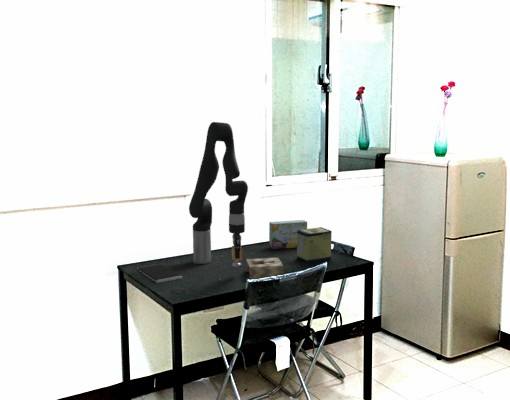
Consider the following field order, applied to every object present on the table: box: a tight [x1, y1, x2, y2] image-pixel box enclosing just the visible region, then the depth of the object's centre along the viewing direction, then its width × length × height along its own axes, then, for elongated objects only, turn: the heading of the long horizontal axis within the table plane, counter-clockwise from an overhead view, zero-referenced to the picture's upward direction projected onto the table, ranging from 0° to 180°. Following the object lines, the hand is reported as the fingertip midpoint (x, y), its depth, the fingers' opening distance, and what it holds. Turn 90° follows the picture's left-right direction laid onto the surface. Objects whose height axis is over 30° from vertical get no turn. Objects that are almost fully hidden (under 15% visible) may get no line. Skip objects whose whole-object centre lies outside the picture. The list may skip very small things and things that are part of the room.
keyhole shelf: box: [245, 257, 284, 280], centre depth 285 cm, size 16×14×6 cm
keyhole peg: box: [231, 245, 243, 268], centre depth 282 cm, size 4×4×9 cm
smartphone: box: [136, 263, 183, 284], centre depth 288 cm, size 13×27×2 cm, turn 31°
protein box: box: [296, 226, 333, 264], centre depth 310 cm, size 10×16×16 cm
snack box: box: [268, 219, 308, 250], centre depth 335 cm, size 21×6×15 cm, turn 105°
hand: (236, 256), depth 282 cm, fingers closed on keyhole peg, 4 cm apart
